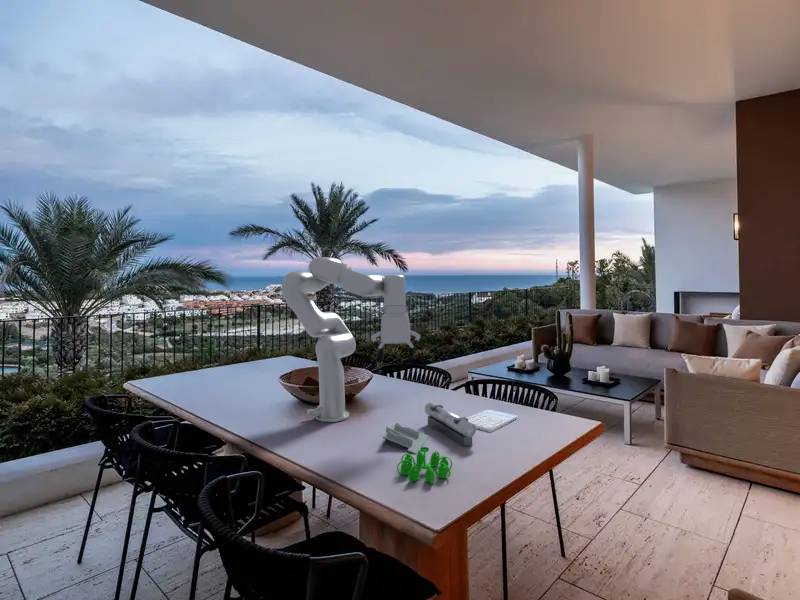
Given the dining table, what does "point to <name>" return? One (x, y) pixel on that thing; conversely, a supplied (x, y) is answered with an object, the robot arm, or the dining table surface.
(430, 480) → the chandelier
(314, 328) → the robot arm
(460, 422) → the pipe mount
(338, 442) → the dining table surface
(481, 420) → the calculator
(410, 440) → the metal bracket
